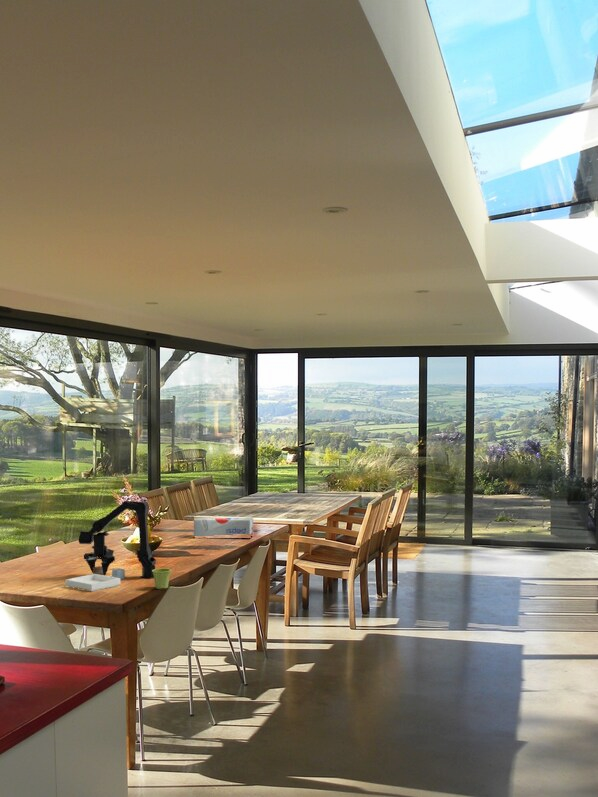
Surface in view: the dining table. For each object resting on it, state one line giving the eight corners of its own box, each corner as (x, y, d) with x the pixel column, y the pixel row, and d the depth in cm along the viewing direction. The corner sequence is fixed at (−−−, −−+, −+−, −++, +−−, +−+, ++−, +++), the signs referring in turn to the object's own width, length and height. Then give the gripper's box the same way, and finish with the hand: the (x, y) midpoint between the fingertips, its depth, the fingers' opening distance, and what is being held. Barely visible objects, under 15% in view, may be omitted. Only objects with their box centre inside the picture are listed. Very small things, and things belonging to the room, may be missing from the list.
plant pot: (148, 589, 382) (148, 571, 382) (158, 585, 391) (158, 567, 391) (164, 590, 379) (164, 572, 379) (174, 586, 387) (174, 568, 388)
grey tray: (120, 585, 391) (120, 578, 391) (91, 591, 376) (91, 584, 376) (94, 580, 402) (94, 573, 402) (65, 586, 388) (65, 579, 388)
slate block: (124, 578, 407) (124, 569, 407) (118, 580, 403) (118, 570, 403) (118, 577, 409) (118, 568, 410) (112, 579, 406) (112, 569, 406)
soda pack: (253, 537, 549) (253, 517, 550) (250, 540, 537) (250, 519, 537) (197, 536, 555) (197, 516, 555) (193, 538, 542) (193, 518, 542)
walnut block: (105, 576, 413) (105, 567, 413) (98, 578, 409) (98, 568, 409) (99, 575, 415) (99, 566, 416) (92, 577, 412) (92, 567, 412)
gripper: (122, 543, 414) (122, 573, 413) (99, 540, 425) (99, 569, 424) (106, 546, 405) (106, 576, 404) (83, 543, 416) (83, 572, 415)
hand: (99, 573), depth 412 cm, fingers open, 9 cm apart
